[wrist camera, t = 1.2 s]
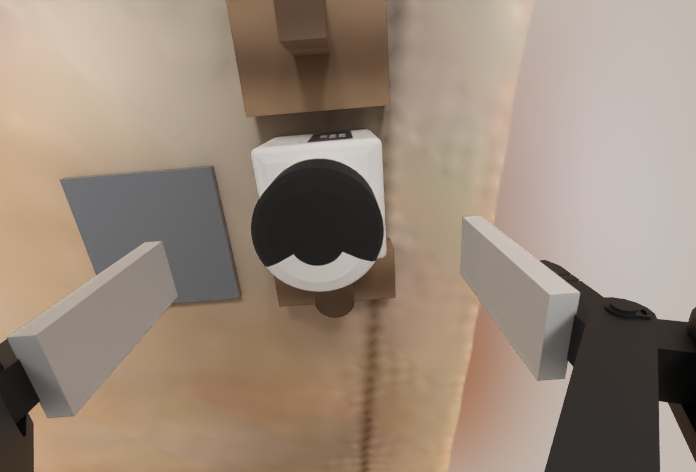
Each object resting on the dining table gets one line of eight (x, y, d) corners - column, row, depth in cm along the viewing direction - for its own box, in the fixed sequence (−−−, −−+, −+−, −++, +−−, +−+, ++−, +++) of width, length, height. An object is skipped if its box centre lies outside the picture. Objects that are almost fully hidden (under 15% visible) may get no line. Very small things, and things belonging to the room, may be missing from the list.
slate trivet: (65, 177, 28) (59, 179, 27) (212, 165, 28) (210, 167, 27) (113, 305, 32) (109, 308, 32) (241, 295, 32) (239, 298, 31)
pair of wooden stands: (235, 0, 24) (182, -51, 16) (380, -13, 24) (401, -70, 16) (283, 291, 32) (265, 354, 24) (391, 283, 32) (408, 343, 24)
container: (272, 136, 27) (217, 164, 15) (371, 128, 27) (396, 149, 15) (287, 229, 30) (250, 316, 18) (376, 221, 30) (400, 303, 18)
